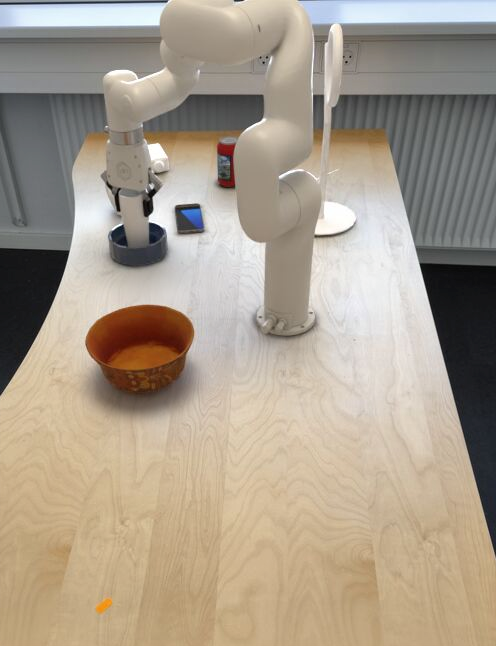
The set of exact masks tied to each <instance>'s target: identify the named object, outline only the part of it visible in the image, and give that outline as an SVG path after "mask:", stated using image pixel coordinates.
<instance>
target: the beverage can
mask: <svg viewBox="0 0 496 646" xmlns="http://www.w3.org/2000/svg"><path fill="white" fill-rule="evenodd" d="M238 138H239V136H235V135H225V136H222V137H220V138H219V140H218V142H217V145H216V165H217V182H218V183H219V184H220V185H221V186H223V187H227V188H233V187H235V175H234V161H233V157H234V149H235V145H236V142H237V140H238Z"/></svg>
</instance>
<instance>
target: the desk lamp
mask: <svg viewBox="0 0 496 646" xmlns="http://www.w3.org/2000/svg"><path fill="white" fill-rule="evenodd" d="M343 34H344V33H343V29H342V26H341V24H340V23H338V22H336V23H333V24H332V25H331V27H330V29H329V32H328V37H327V42H325V43H324V78H323V79H324V85H323V86H324V87H323V89H324V91H323V93H324V94H323V130H322V131H323V132H322V145H321V146H322V147H321V158H320V170H319V171H320V172H319V177H317V178H316V179H317V181H319V185H320V188H321V194H322V202H321V208H320V213H319V217H318V220H317V224H316V229H315V235H314V236H331V235H336V234H340V233H343V232H346V231H348V230H349V229H351V228H352V227H354V225H355V223H356V221H357V217H356V214H355V212H354V211H353V210H352V209H351V208H349V207H348V206H346V205H343V204H340V203H337V202H331V201H326V190H327V177H328V175H331V174H333V173H335V172H338V171H340V168H338V169H335V170H332V171H330V172H328V166H329V165H328V164H329V153H330V141H331V128H332V108H335V107H336V106H337V104H338V102H339V99H340V95H341V87H342V77H343V66H344V65H343V62H344V35H343Z"/></svg>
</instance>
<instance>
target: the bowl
mask: <svg viewBox="0 0 496 646" xmlns="http://www.w3.org/2000/svg"><path fill="white" fill-rule="evenodd" d="M194 338H195V328H194V325H193V322H192V321H191V320H190V318H189V317H188V316H187V315H186V314H184V313H183V312H182V311H179V310H177V309H174V308H172V307H169V306H166V305H160V304H138V305H131V306H126V307H123V308H119V309H117V310H115V311H112V312H109V313H107V314H105V315H103V316H101V317H100V318H99V319H97V320H96V321H95V322H94V323H93V324H92V326H90V328H89V329H88V332H87V334H86V336H85V340H84V342H85V349H86V350H87V353H88V354H89V356H90V357H91V358H92V359H93V361H95V362H96V364H97V365H99V367H100V369H101V371H102V374H103V376H104V378H105V380H106V381H107V382H108V383H109V384H110V385H111V386H113V387H114V388H116V389H118V390H120V391H122V392H125V393H131V394H132V393H133V394H146V393H152V392H153V393H154V392H157V391H160V390H163V389H164V388H167V387H169V386H170V385H172V384H173V383H174V382H176V380H178V379H179V377H181V375H182V374H183V371H184V370H185V365H186V360H187V354H188V352H189V350H190V348H191V346H192V344H193V341H194Z"/></svg>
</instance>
